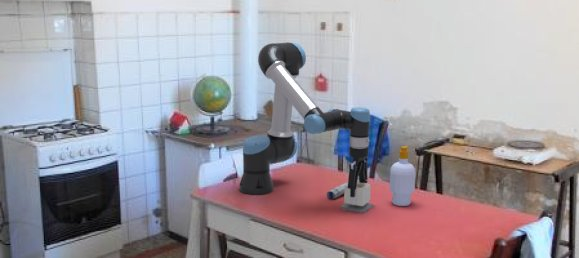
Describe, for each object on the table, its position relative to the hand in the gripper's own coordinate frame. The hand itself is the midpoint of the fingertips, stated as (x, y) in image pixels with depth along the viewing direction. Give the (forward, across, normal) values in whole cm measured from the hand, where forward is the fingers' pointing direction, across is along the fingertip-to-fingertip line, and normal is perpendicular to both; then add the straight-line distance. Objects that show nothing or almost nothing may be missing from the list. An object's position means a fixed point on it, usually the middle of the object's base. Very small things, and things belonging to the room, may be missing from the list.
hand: (357, 201), depth 241 cm
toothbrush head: (+3, +17, +11) cm, 20 cm away
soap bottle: (+3, +14, -14) cm, 20 cm away
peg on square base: (+3, 0, 0) cm, 3 cm away
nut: (0, 0, 0) cm, 0 cm away
